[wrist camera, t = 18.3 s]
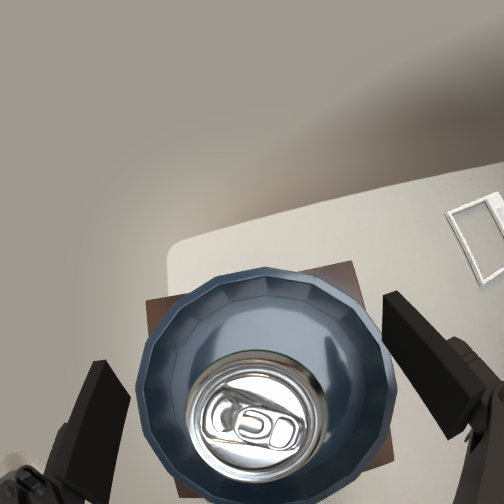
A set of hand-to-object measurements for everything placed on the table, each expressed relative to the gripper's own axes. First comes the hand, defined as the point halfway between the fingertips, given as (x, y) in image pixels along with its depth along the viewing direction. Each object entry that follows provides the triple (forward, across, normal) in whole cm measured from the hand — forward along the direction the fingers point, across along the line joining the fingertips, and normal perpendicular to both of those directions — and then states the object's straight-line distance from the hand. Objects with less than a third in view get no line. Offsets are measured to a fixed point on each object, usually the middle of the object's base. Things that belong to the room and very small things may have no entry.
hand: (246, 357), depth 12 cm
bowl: (+4, 0, -8) cm, 9 cm away
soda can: (+4, 0, -8) cm, 9 cm away
